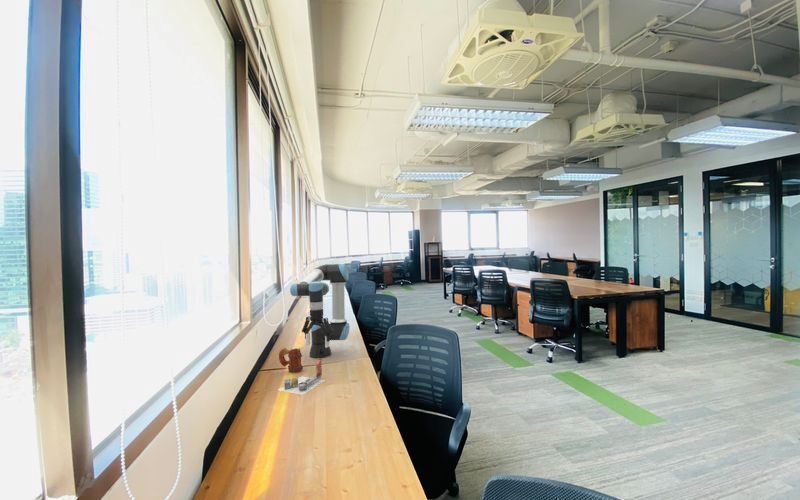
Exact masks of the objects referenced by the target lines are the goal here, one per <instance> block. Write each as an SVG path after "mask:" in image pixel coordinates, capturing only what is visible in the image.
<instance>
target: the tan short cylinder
mask: <svg viewBox="0 0 800 500" xmlns="http://www.w3.org/2000/svg"><path fill="white" fill-rule="evenodd" d="M291 387H292V388H296V387H298V379H297V378H292V379H291Z"/></svg>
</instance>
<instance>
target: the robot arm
mask: <svg viewBox="0 0 800 500" xmlns="http://www.w3.org/2000/svg"><path fill="white" fill-rule="evenodd" d="M349 279H350V273H349V268H348V266H347V265H346V264H344V263H336V264H335V263H333V264H328V263H327V264H322V265H319V266H317V267H315V268H314V269H312V270H311V271H310V274H308V275H307V276H306V277H305V278H303V279H302V280H301V281H300V282H299V283H292V284H291V286H290V288H289V289H290V290H289V292H290V295H291V296H292V297H308V298H309V300H308V301H309V316H306V317H305V321H304V325H303V327H302V329H301V333H304V339H305V345H306V346H309V345H311V346H310V350H309V357H310V358H312V359H322V358H326V357H329V356H331V355H332V350H331V346H330V342H331V341H345V340H347V339H348V337H349V333H350V323H348V320H347V319H346V317H345V313H346V312H345V307H346V306H345V285H346V284H347V281H349ZM323 281H329V284H330V285H331V287H332V288H331V289H332V290H331V293H332V294H331V297H332V298H331V299H332V301H331V303H332V307H331V308H332V309H331V310H332V312H331V313H332V315H331V316H332V317H331V318H332V319H331V320H330V321H329V318H328V317H324V296H326V295H327V294H328V293H329V292H330V286H329V284H328V283H326V282H323ZM310 332H311V333H310Z"/></svg>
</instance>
